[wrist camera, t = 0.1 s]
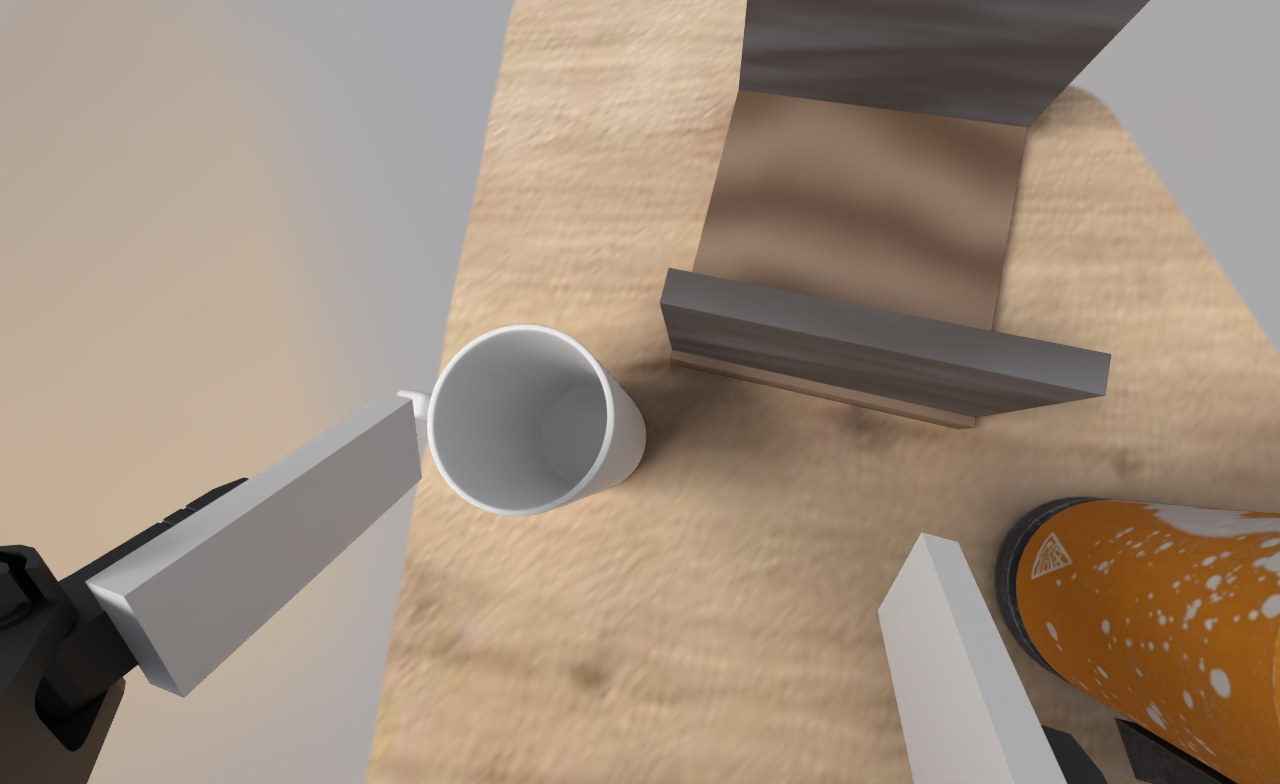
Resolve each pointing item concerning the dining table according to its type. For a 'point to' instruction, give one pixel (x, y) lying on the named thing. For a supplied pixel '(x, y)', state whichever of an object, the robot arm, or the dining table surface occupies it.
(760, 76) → the holder
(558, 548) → the dining table surface
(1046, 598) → the canister
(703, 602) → the dining table surface
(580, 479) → the mug
